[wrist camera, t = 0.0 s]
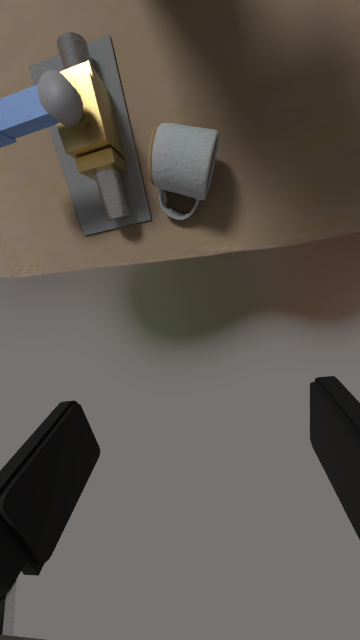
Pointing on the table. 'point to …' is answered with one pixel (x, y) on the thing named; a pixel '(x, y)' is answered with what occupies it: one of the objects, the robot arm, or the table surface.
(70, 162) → the mat
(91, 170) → the valve
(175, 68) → the table surface
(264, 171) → the table surface
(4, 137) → the lever
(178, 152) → the ceramic mug
